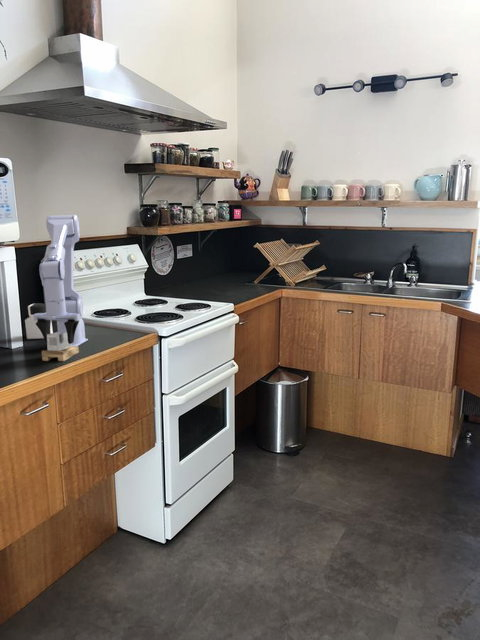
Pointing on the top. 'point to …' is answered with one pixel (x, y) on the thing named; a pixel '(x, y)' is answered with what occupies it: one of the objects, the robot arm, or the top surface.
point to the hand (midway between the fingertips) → (59, 342)
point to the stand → (60, 354)
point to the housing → (58, 341)
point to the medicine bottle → (30, 323)
